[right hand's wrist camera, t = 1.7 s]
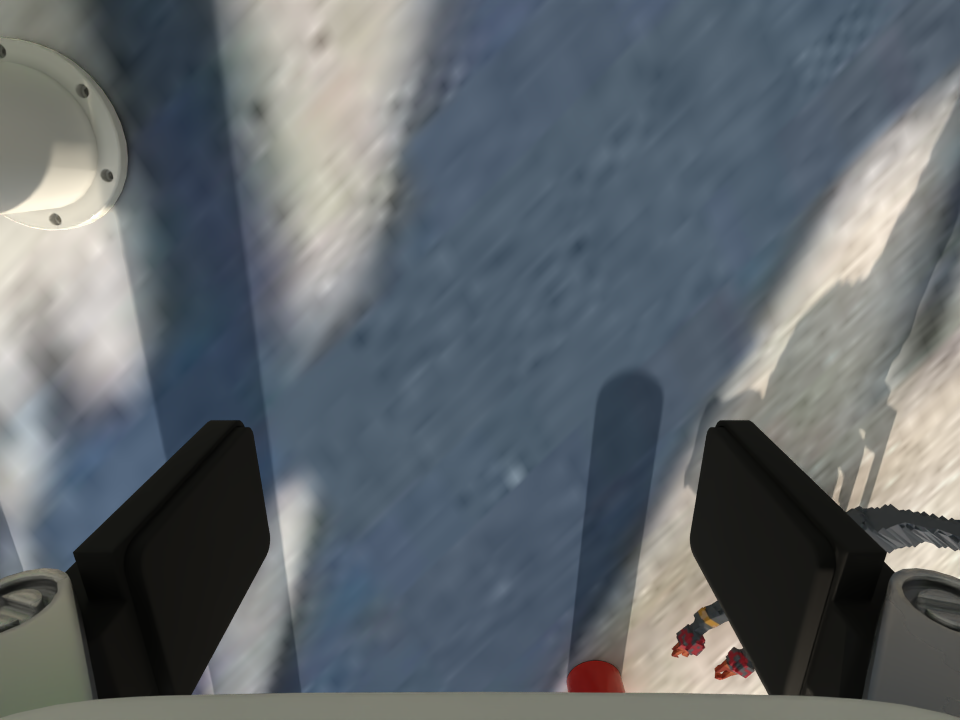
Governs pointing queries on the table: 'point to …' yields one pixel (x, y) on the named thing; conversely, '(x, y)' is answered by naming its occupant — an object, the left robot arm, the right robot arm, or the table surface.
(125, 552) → the right robot arm
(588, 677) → the canister
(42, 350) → the table surface
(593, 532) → the table surface
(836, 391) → the table surface
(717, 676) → the toy
